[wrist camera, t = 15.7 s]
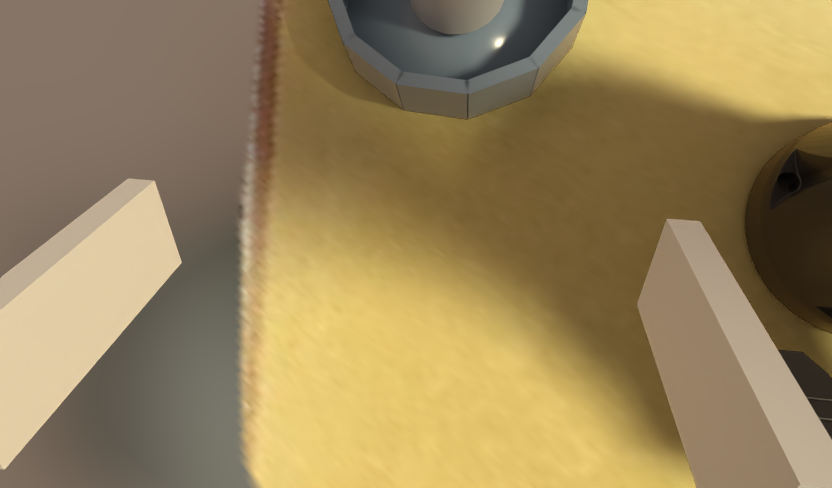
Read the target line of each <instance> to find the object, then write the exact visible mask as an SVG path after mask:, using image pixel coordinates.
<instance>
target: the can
mask: <svg viewBox="0 0 832 488" xmlns="http://www.w3.org/2000/svg"><path fill="white" fill-rule="evenodd" d="M410 2H411V6H412V9H413V11H414V12H415V14H416V15H417V17H418V18H419V20H420V21H421V22H423V23H424V24H425V25H427V26H428V27H429V28H431V29H433V30H436V31H438V32H441V33H444V34H464V33H468V32H472V31H476V30H478V29H479V28H481V27H483V26H484V25H486V24H488V23H489V22H490V21H491V20H492V19H493V18H494V17H495V15H496V14H497V13H498V12H499V11H500V9H501V7H502V4H503V2H504V0H410Z"/></svg>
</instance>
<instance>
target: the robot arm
mask: <svg viewBox="0 0 832 488" xmlns="http://www.w3.org/2000/svg"><path fill="white" fill-rule="evenodd" d="M746 236H747V242H748V246H749V250H750V253H751V256H752V259H753V261H754V264H755V266H756V268H757V270H758V272H759V274H760V276H761V277H762V279H763V281H764V282H765V283H766V285H767V286H768V288H769V289H770V290H771V291H772V293H773V294H774V295H775V296H776V297H777V298H778V299H779V300H780V301H781V302H782V303H783V304H784V305H785V306H786V307H787V308H788V309H790V310H791V311H792V312H793V313H795V314H796V315H798V316H799V317H800V318H802V319H804V320H805V321H807V322H809V323H810V324H812V325H814V326H816V327H818V328H821V329H823V330H825V331H828V332H831V333H832V122H831V123H829V124H826V125H824V126H821V127H819V128H817V129H815V130H813V131H811V132H809V133H807V134H805V135H803V136H801V137H800V138H798V139H796V140H794V141H792V142H791V143H789V144H788V145H786V146H785V147H783V148H782V149H781V150H780V151H778V152H777V153H776V154H775V155H774V156H773V157H772V158H771V159H770V160H769V161H768V162H767V164H766V165H765V166H764V168H763V169H762V170H761V172H760V174H759V175H758V177H757V179H756V181H755V183H754V185H753V187H752V190H751V193H750V196H749V199H748V204H747V210H746ZM181 263H182V262H181V259H180V256H179V253H178V250H177V247H176V244H175V241H174V238H173V235H172V232H171V229H170V226H169V223H168V220H167V217H166V214H165V211H164V208H163V205H162V201H161V198H160V196H159V192H158V190H157V187H156V184H155V181H153V180H140V179H127V180H126V181H124V182H123V183H122V184H120V185H119V186H118V187H117V188H115V189H114V190H113V191H112V192H110V193H109V194H108V195H106V196H105V197H104V198H102V199H101V200H100V201H99V202H97V203H96V204H95V205H93V206H92V207H91V208H89V209H88V210H87V211H86V212H84V213H83V214H82V215H81V216H79V217H78V218H77V219H75V220H74V221H73V222H72V223H70V224H69V225H68V226H66V227H65V228H64V229H62V230H61V231H60V232H59V233H57V234H56V235H55V236H53V237H52V238H51V239H49V240H48V241H47V242H46V243H44V244H43V245H42V246H40V247H39V248H38V249H37V250H35V251H34V252H33V253H31V254H30V255H29V256H28V257H26V258H25V259H24V260H22V261H21V262H20V263H18V265H16V266H15V267H13V268H12V269H11V270H10V271H8V272H7V273H6V274H4V275H3V276H1V277H0V469H5V468H6V467H7V466H8V464H10V462H11V461H12V460H13V459H14V458H15V457H16V455H17V454H18V453H19V452H20V451H21V450H22V448H23V447H24V446H25V445H26V444H27V443H28V441H29V440H30V439H31V438H32V437H33V436H34V434H35V433H36V432H37V431H38V430H39V429H40V427H41V426H42V425H43V424H44V423H45V422H46V420H47V419H48V418H49V417H50V416H51V415H52V413H53V412H54V411H55V410H56V409H57V408H58V406H59V405H60V404H61V403H62V402H63V401H64V399H65V398H66V397H67V396H68V395H69V394H70V392H71V391H72V390H73V389H74V388H75V386H76V385H77V384H78V383H79V382H80V381H81V380H82V378H83V377H84V376H85V375H86V374H87V373H88V371H89V370H90V369H91V368H92V367H93V366H94V364H95V363H96V362H97V361H98V360H99V358H100V357H101V356H102V355H103V354H104V353H105V352H106V350H107V349H108V348H109V347H110V346H111V345H112V343H113V342H114V341H115V340H116V339H117V337H118V336H119V335H120V334H121V333H122V332H123V330H124V329H125V328H126V327H127V326H128V325H129V323H130V322H131V321H132V320H133V319H134V318H135V316H136V315H137V314H138V313H139V311H140V310H141V309H142V308H143V307H144V306H145V305H146V304H147V302H148V301H149V300H150V299H151V298H152V297H153V295H154V294H155V293H156V292H157V291H158V289H159V288H160V287H161V286H162V285H163V284H164V283H165V281H166V280H167V279H168V278H169V277H170V276H171V274H172V273H173V272H174V271H175V270H176V269H177V267H178V266H179V265H180V264H181ZM637 307H638V310H639V313H640V316H641V319H642V322H643V325H644V328H645V331H646V334H647V337H648V340H649V343H650V346H651V350H652V353H653V356H654V359H655V362H656V365H657V368H658V371H659V374H660V377H661V380H662V383H663V386H664V389H665V392H666V395H667V398H668V401H669V405H670V408H671V411H672V414H673V417H674V420H675V423H676V426H677V429H678V432H679V435H680V438H681V441H682V444H683V447H684V450H685V453H686V456H687V460H688V463H689V466H690V469H691V472H692V475H693V478H694V481H695V484H696V487H697V488H832V379H831V377H830V376H829V374H827V373H826V372H825V371H824V370H823V369H822V368H820V367H819V366H818V365H817V364H816V363H815V362H814V361H812V360H811V359H810V358H809V357H808V356H807V355H805V354H804V353H803V352H796V351H786V350H777V348H776V346H775V345H774V343H773V341H772V340H771V338H770V336H769V335H768V333H767V331H766V330H765V328H764V326H763V325H762V323H761V321H760V320H759V318H758V316H757V315H756V313H755V311H754V310H753V308H752V306H751V305H750V303H749V301H748V300H747V298H746V296H745V295H744V293H743V291H742V290H741V288H740V286H739V285H738V283H737V281H736V280H735V278H734V276H733V275H732V273H731V271H730V270H729V268H728V266H727V265H726V263H725V261H724V260H723V258H722V256H721V255H720V253H719V251H718V250H717V248H716V246H715V245H714V243H713V241H712V240H711V238H710V236H709V235H708V233H707V231H706V230H705V228H704V226H703V225H702V223H701V221H693V220H679V219H666V222H665V225H664V227H663V230H662V233H661V236H660V239H659V242H658V245H657V248H656V251H655V253H654V256H653V259H652V262H651V265H650V268H649V271H648V274H647V277H646V279H645V282H644V285H643V288H642V291H641V294H640V297H639V300H638V303H637Z"/></svg>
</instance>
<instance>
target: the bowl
mask: <svg viewBox="0 0 832 488" xmlns="http://www.w3.org/2000/svg"><path fill="white" fill-rule="evenodd" d="M328 2H329V5H330V8H331V10H332V13H333V16H334V19H335V22H336V25H337V28H338V30H339V33H340V36H341V39H342V42H343V44H344V46H345V49H346V51H347V53H348V55H349V57H350V60H351V62H352V64H353V66H354V69H355V71H356V73H357V74H359V75H360V76H361V77H362V78H364V79H365V80H366V81H368V82H369V83H370V84H371V85H373V86H374V87H375V88H376V89H378V90H379V91H380V92H381V93H383V94H384V95H385V96H386V97H388V98H389V99H390V100H391V101H393V102H394V103H395V104H397V105H398V106H399V107H400V108H402V109H403V110H406V111H413V112H420V113H426V114H433V115H440V116H447V117H454V118H461V119H467V117H468V119H470V118H473V117H476V116H479V115H481V114H484V113H487V112H489V111H492V110H495V109H497V108H500V107H503V106H506V105H508V104H511V103H514V102H516V101H519V100H522V99H525V98H527V97H530V96H531V95H532V94H533V93H534V91H535V90H536V89H537V88H538V87H539V86H540V84H541V83H542V82H543V81H544V80H545V79H546V77H547V76H548V75H549V74H550V73H551V72H552V70H553V69H554V68H555V67H556V66H557V65H558V64H559V62H560V61H561V60H562V59H563V58H564V57H565V55H566V54H567V53H568V52H569V51H570V50H571V48H572V47H573V44H574V42H575V39H576V37H577V34H578V32H579V29H580V27H581V24H582V22H583V19H584V17H585V14H586V11H587V4H588V0H504V2H503V4H502V7H501V9H500V11H499V12H498V13H497V14H496V15H495V17H494V18H493V19H492V20H491V21H490V22H489V23H488V24H486V25H484V26H483V27H481V28H479V29H478V30H476V31H472V32H468V33H464V34H444V33H441V32H438V31H436V30H433V29H431V28H429V27H428V26H427V25H425V24H424V23H423V22H421V21H420V20H419V18H418V17H417V15H416V14H415V12H414V11H413V9H412V6H411V2H410V0H328Z"/></svg>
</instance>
